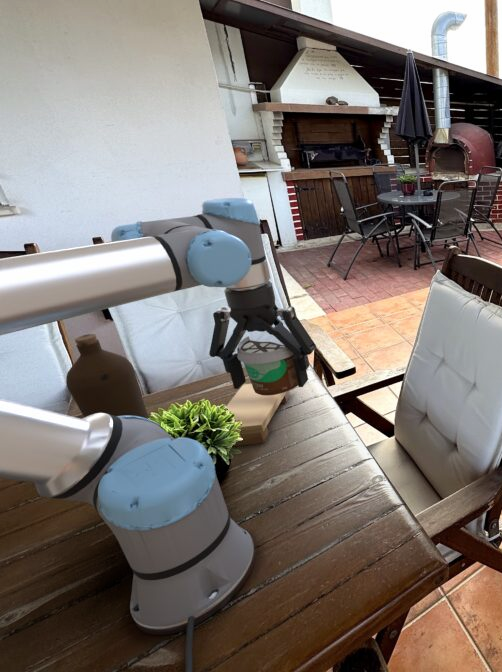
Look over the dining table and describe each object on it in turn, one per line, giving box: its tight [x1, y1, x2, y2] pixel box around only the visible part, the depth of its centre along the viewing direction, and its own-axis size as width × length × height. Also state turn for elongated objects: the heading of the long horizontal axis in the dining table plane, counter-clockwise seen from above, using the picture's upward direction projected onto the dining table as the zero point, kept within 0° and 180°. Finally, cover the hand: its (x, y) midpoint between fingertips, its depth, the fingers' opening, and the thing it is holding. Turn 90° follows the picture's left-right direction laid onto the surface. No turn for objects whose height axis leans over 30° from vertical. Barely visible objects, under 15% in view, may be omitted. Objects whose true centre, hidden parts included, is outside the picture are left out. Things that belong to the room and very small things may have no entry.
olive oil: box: [65, 333, 150, 419], centre depth 90 cm, size 11×11×25 cm
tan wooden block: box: [225, 383, 291, 447], centre depth 97 cm, size 18×11×5 cm, turn 10°
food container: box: [236, 335, 299, 395], centre depth 80 cm, size 12×6×10 cm, turn 75°
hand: (272, 384), depth 81 cm, fingers closed on food container, 12 cm apart
